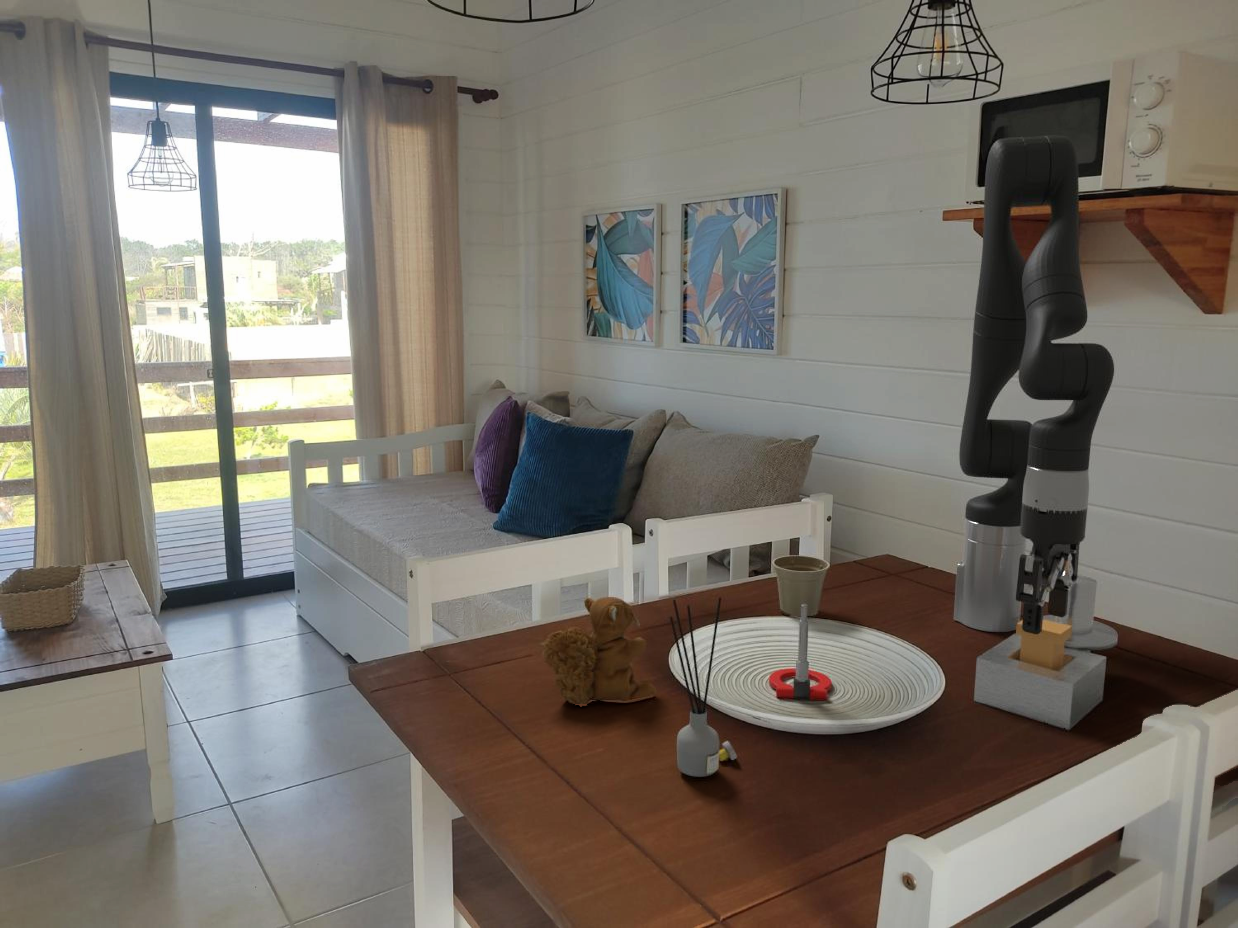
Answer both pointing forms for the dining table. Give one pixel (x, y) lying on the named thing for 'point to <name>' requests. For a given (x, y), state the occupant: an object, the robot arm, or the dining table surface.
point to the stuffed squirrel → (597, 656)
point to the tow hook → (801, 672)
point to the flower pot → (800, 582)
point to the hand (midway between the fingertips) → (1044, 623)
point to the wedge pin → (1044, 645)
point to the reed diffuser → (698, 720)
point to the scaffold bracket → (1043, 689)
